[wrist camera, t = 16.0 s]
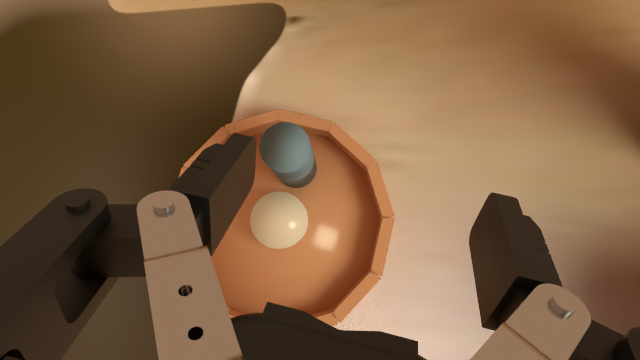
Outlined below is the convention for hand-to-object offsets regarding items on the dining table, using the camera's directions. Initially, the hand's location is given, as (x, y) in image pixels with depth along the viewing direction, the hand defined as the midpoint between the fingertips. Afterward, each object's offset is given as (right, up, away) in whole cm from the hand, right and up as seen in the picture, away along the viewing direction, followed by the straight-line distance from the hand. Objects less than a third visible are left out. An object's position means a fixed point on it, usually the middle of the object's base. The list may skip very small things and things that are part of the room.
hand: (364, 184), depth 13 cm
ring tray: (-6, -5, +31) cm, 31 cm away
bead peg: (-4, +2, +30) cm, 31 cm away
